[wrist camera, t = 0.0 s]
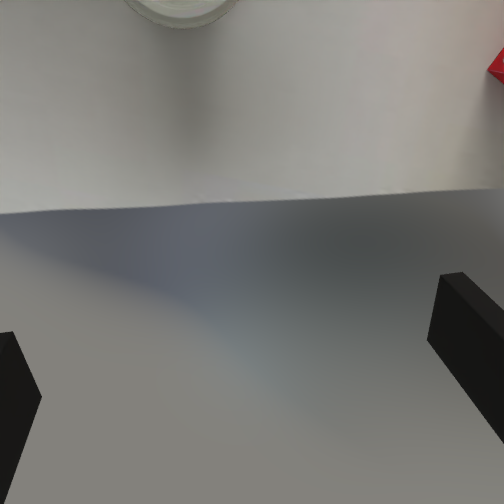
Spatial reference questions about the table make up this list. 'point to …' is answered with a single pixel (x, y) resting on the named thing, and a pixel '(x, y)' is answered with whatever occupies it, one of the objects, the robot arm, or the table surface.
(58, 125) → the table surface
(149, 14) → the coffee cup
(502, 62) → the food packaging
